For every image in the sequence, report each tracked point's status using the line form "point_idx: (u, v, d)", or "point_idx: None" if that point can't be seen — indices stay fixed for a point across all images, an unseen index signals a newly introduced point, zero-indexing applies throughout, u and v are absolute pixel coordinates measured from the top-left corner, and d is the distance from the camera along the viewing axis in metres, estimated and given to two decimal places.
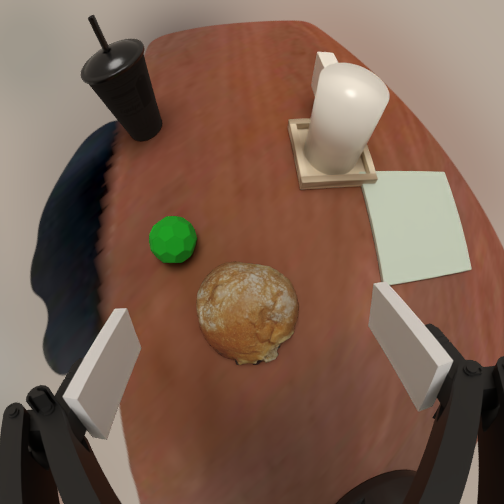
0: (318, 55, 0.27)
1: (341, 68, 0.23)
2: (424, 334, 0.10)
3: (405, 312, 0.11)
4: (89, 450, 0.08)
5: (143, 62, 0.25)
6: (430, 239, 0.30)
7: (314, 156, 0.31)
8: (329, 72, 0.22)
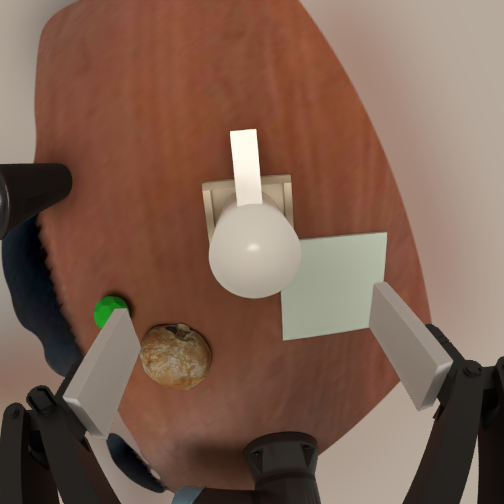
0: (231, 138, 0.21)
1: (243, 226, 0.20)
2: (424, 334, 0.10)
3: (405, 312, 0.11)
4: (89, 450, 0.08)
5: (18, 195, 0.19)
6: (339, 305, 0.37)
7: None
8: (223, 238, 0.21)
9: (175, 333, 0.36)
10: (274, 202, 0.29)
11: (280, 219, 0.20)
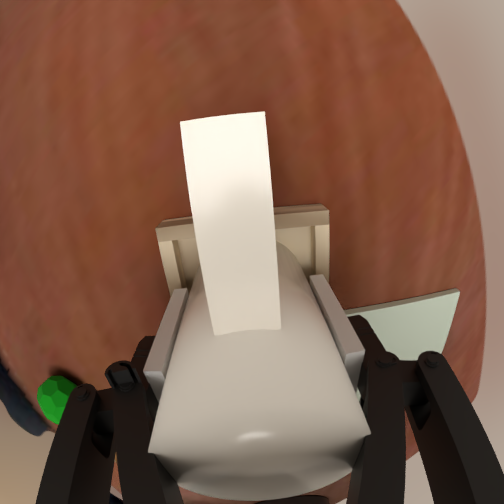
0: (184, 144, 0.07)
1: (227, 434, 0.06)
2: (342, 323, 0.11)
3: (330, 302, 0.13)
4: None
5: None
6: None
7: None
8: (178, 448, 0.06)
9: None
10: (298, 268, 0.15)
11: (337, 415, 0.06)
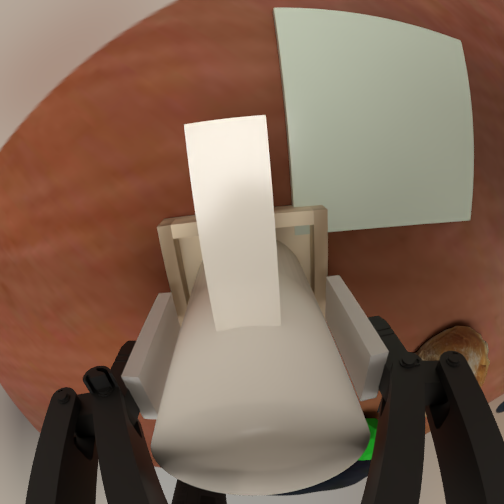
0: (188, 146, 0.07)
1: (228, 427, 0.06)
2: (364, 325, 0.11)
3: (350, 303, 0.13)
4: (141, 435, 0.09)
5: None
6: (427, 110, 0.14)
7: None
8: (180, 441, 0.07)
9: None
10: (298, 267, 0.15)
11: (335, 409, 0.06)
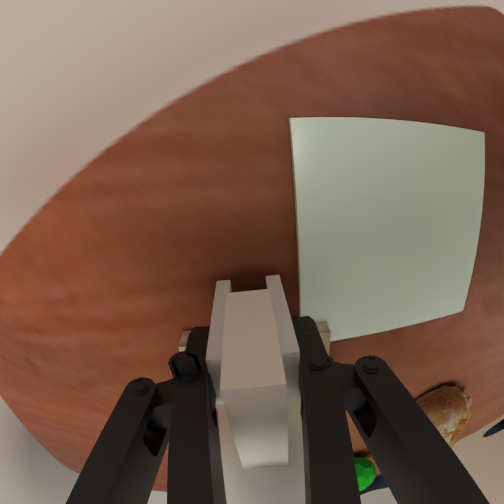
0: None
1: None
2: (284, 323, 0.12)
3: (278, 302, 0.13)
4: (216, 425, 0.09)
5: None
6: (437, 223, 0.16)
7: None
8: None
9: None
10: None
11: None
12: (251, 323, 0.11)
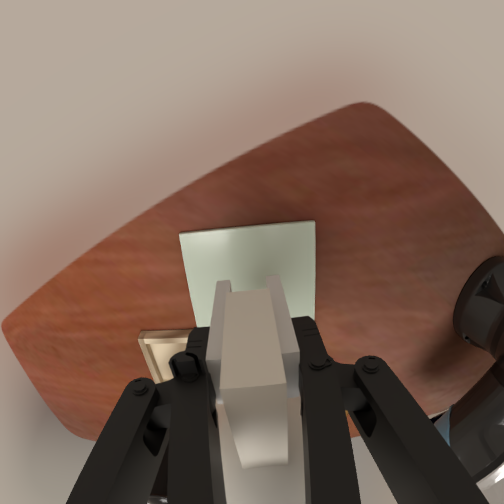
0: None
1: None
2: (284, 323, 0.12)
3: (278, 302, 0.13)
4: (216, 425, 0.09)
5: (161, 489, 0.33)
6: None
7: None
8: None
9: None
10: None
11: None
12: (251, 323, 0.11)
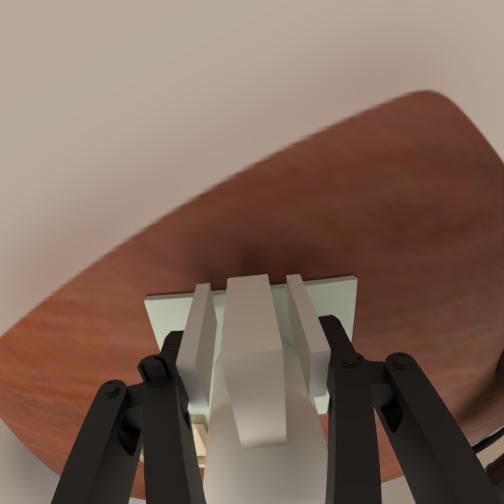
0: None
1: None
2: (311, 322, 0.12)
3: (303, 302, 0.13)
4: (189, 427, 0.09)
5: None
6: None
7: None
8: None
9: None
10: (300, 370, 0.17)
11: (317, 500, 0.08)
12: (250, 301, 0.12)
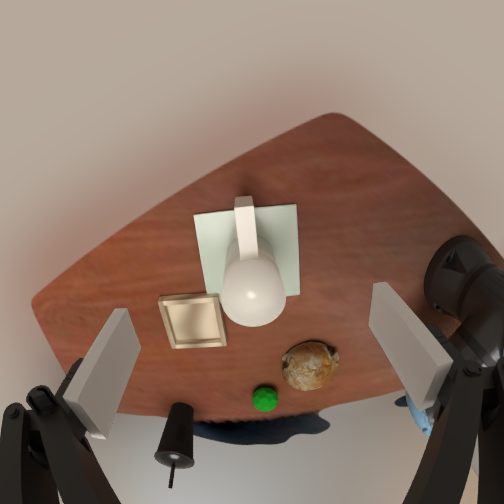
0: (235, 212, 0.30)
1: (244, 281, 0.29)
2: (424, 334, 0.10)
3: (405, 312, 0.11)
4: (89, 450, 0.08)
5: (171, 445, 0.42)
6: None
7: None
8: (231, 288, 0.30)
9: (286, 365, 0.48)
10: (269, 247, 0.38)
11: (270, 276, 0.29)
12: (244, 200, 0.33)
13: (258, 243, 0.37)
